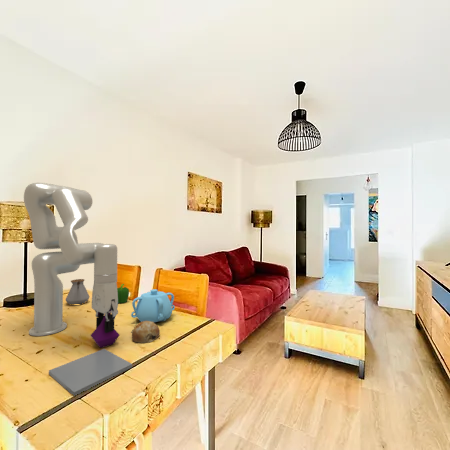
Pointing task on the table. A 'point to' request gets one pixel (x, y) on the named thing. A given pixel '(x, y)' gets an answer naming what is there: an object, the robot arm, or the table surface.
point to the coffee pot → (77, 293)
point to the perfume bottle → (104, 335)
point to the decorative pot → (153, 306)
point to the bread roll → (145, 332)
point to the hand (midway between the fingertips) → (105, 328)
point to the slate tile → (89, 371)
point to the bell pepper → (122, 294)
